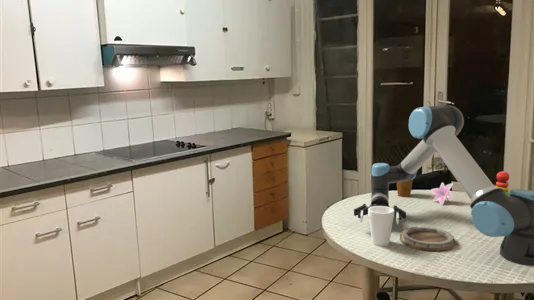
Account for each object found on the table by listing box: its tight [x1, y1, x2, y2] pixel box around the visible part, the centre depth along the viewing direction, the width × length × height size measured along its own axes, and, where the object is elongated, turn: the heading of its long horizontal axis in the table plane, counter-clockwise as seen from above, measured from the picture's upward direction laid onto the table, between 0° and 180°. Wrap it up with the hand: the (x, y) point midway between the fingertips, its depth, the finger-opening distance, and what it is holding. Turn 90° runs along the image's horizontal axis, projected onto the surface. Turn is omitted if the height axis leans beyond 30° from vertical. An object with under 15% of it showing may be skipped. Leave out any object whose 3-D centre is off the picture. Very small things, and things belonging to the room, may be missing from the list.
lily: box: [430, 182, 454, 206], centre depth 213 cm, size 12×12×10 cm
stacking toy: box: [495, 170, 510, 197], centre depth 195 cm, size 8×8×19 cm
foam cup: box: [367, 206, 395, 247], centre depth 164 cm, size 10×9×13 cm
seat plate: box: [399, 226, 457, 253], centre depth 165 cm, size 20×20×2 cm
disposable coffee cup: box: [396, 179, 414, 198], centre depth 226 cm, size 10×10×12 cm
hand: (379, 220), depth 167 cm, fingers open, 13 cm apart
